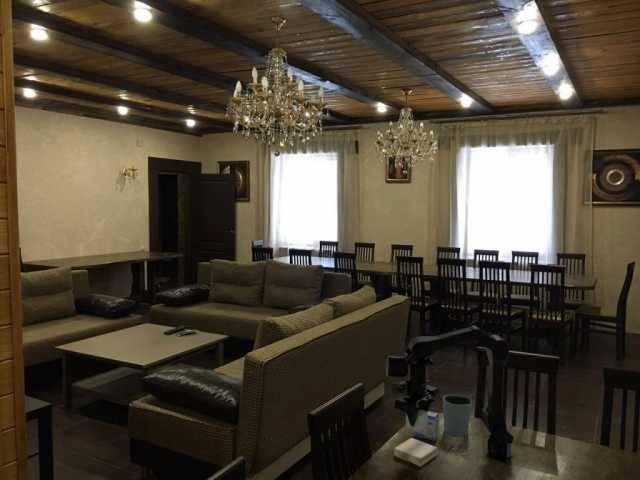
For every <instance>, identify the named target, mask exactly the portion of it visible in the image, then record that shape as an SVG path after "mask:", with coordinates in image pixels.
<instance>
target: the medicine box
mask: <svg viewBox="0 0 640 480" xmlns="http://www.w3.org/2000/svg"><path fill="white" fill-rule="evenodd" d="M439 415H440V414H439V412H434V411H428V421H427V427H425V428H424V429H422V430H420V431H417V430H414V429H412V430H413V432H412V436H413V437H416V438H421V439H424V440H425V439H426V440H429V441H435V440H436V439H437V438H438V436H439Z"/></svg>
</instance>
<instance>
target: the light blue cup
mask: <svg viewBox="0 0 640 480" xmlns="http://www.w3.org/2000/svg"><path fill="white" fill-rule="evenodd" d="M472 406H473V400H472V399H471V398H470V397H468V396H466V395H462V394H457V393H456V394H455V393H453V394H451V393H450V394H446V395H444V396H443V397H442V407H443V431H444V433H445V434H446V435H448V436H451V437H458V438H462V437H466V436H468V434H469V425H470V421H471V420H470V419H471V413H472Z"/></svg>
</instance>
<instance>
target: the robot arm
mask: <svg viewBox="0 0 640 480" xmlns="http://www.w3.org/2000/svg"><path fill="white" fill-rule="evenodd" d="M470 342H477V343H478V344H480V345H482V346H483V347H484V348H485V350H486V356H487V359H488V364H489V365H488V366H489V367H488V368H489V370H488V395H487V396H488V397H487V398H488V400H487V402H488V403H487V406H486V408H481V418H480V420H481V421H482V423H483V425H484V427H485V428H486V430H487V431H488V432H489V434H490V435H489V436H488V439H487V444H486V445H487V450H486V451H487V452H486V453H485V454H486V456H487V457H490V458H493V459H495V460H498V461H501V462H503V463H505V462H507V461H508V460H509V459H510V458H511V457H513V455H514V454H513V453H512V443H513V442H514V439H515V436H513V435H512V434H511V432H510V430H509V429H508V428H507V427H508V426H507V419H506V415H505V412H504V409H503V406H504V405H503V404H504V401H503V400H504V375H505V374H504V372H505V364H506V363H507V361H508V358H509V353H510V350H511V349H510V345H509V343H508V342H507V341H506V340H505V339H503V337H501V336H499V335H497V334H491V333H488V332H486V331H485V330H482V329H480V328H479V327H478V326H476V325H470V326H468V327H465V328H461V329H458V330H454V331H451V332H447V333H442V334H439V335H434V336H429V335H428V336H427V335H422V336H415V337H412V338H411V339H410V341H409V342H408V346H407V348H406V349H405V350H404V352H402V354H401V356H399V355H397V356H396V355H387V357H386V358H387V359H386V362H385V375H386V378H405V377H407V376H408V378H407V379H406V380H404V381H403V380H402V381H397V382H395V381H394V382H393V383H391V389H390V390H391V391H392V393H393V394H395V396H396V395H397V396H398V395H400V394H404V396H401V397H398V398H396V399H395V400H394V401H393V408H394V409H397V410H399V411H400V412H401V411H402V412H404V413H405V414H406V413H407V416H408V419H409V422H410V425H411V426H414V425H415V422H416V419H417V416H418V413H419V410H420V409H421V410H424V411H427V412H428V411H429V410H430V408H431V407H432V406H433V404H434V402H435V400H436V399H439V398H440V397H441V391H440V389H439V388H438V387H435V386H431V385H429V384H430V383H431V382H430V380H429V379H428V366H433V365H435V363H434V361H433V360H432V359H431V358H430V357H431V356H433V355H434V354H436V353H437V352H438V351H441V350H445V349H448V348H451V347H455V346H456V347H457V346H459V345H464V344H467V343H470ZM431 396H432V397H431ZM432 398H433V399H432ZM417 405H418V406H417Z"/></svg>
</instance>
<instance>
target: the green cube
mask: <svg viewBox="0 0 640 480" xmlns="http://www.w3.org/2000/svg"><path fill="white" fill-rule="evenodd" d="M427 421H428V412H427V411H424V410H421V409H420V410H419V413H418V416H417V419H416V422H415V425H414V426H411V425H410V422H409V419H408V416H407V413H406V412H405V427H406V428H409V429H411V430H413V429H414V430H417V431H420V430H422V429H424V428H425V427H427Z"/></svg>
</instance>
